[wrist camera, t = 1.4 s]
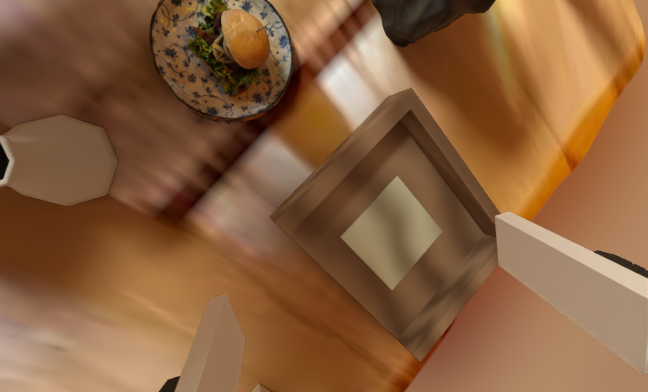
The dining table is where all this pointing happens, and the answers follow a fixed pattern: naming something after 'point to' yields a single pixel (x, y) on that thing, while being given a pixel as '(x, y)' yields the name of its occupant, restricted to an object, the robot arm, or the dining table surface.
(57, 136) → the flask
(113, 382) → the dining table surface
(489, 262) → the shallow rimmed tray
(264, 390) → the block
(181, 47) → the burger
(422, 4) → the owl
